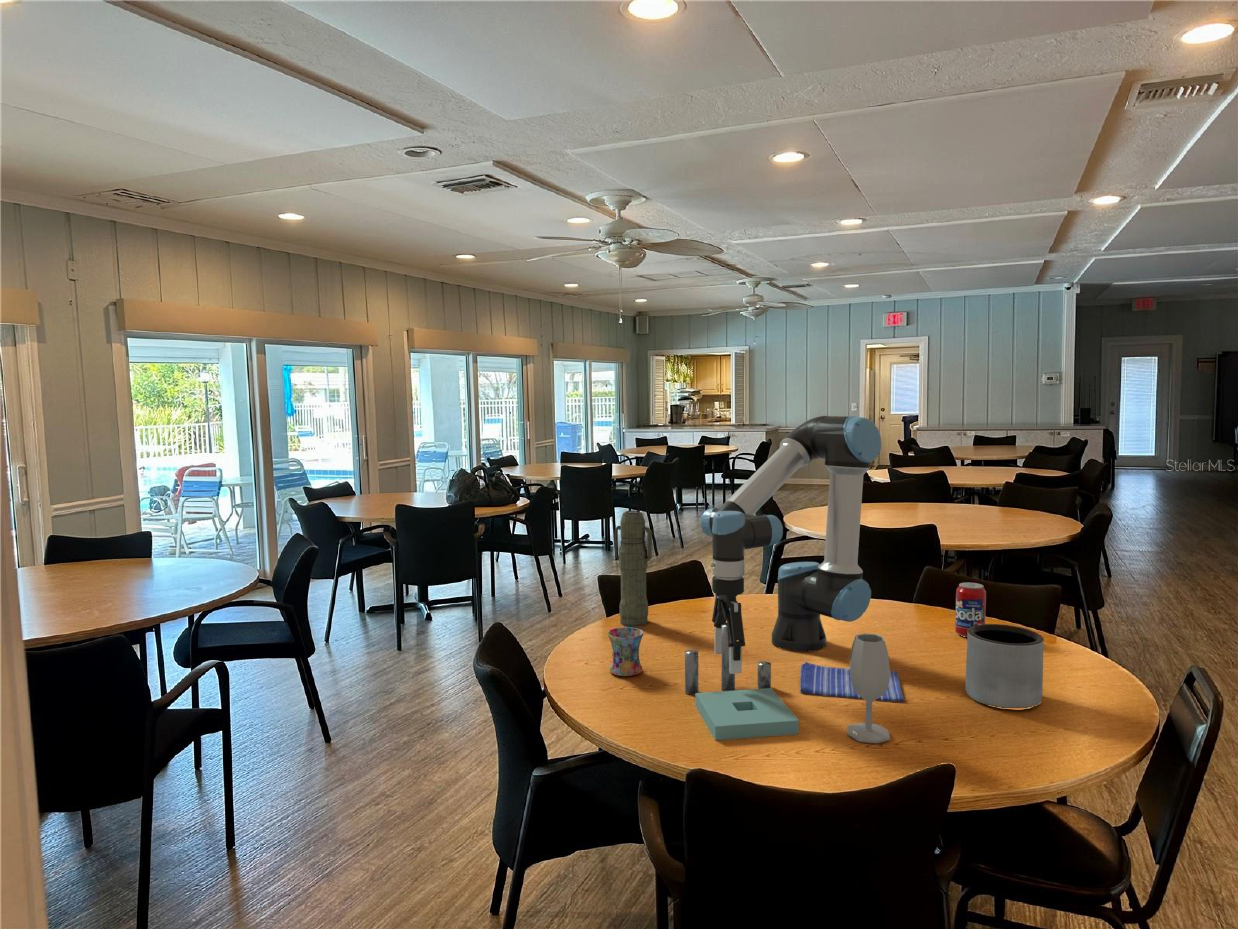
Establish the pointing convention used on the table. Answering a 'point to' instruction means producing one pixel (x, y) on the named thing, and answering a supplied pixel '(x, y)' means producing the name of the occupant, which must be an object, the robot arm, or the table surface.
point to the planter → (1004, 666)
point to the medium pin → (691, 672)
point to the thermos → (633, 568)
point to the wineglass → (869, 683)
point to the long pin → (726, 660)
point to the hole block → (745, 714)
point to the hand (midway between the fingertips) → (727, 663)
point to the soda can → (969, 607)
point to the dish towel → (841, 683)
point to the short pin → (764, 675)
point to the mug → (625, 650)
